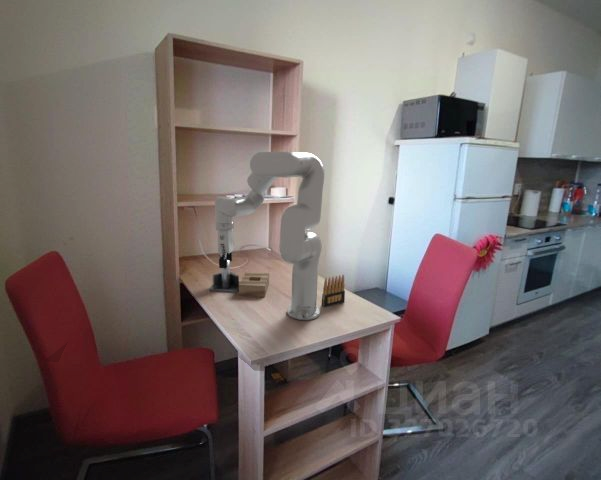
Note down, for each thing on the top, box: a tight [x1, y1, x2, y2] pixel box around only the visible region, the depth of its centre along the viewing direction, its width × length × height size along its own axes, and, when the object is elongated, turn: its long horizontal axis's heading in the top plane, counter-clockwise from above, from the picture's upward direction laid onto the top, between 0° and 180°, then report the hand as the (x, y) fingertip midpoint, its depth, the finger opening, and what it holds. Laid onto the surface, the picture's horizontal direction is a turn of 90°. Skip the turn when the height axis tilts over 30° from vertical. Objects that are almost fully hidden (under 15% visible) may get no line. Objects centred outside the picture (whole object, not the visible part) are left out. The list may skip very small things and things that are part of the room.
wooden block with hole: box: [238, 272, 270, 298], centre depth 157 cm, size 16×11×5 cm
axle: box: [220, 259, 231, 288], centre depth 156 cm, size 4×4×12 cm
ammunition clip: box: [320, 274, 346, 308], centre depth 144 cm, size 11×2×12 cm, turn 123°
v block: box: [209, 271, 241, 293], centre depth 158 cm, size 12×10×6 cm
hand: (225, 264), depth 155 cm, fingers open, 9 cm apart
